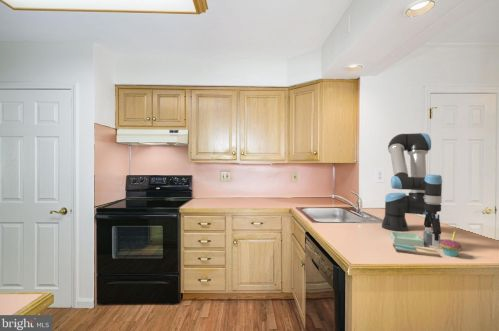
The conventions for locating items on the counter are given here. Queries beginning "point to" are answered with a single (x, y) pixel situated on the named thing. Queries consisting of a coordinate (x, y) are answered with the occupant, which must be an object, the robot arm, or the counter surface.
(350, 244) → the counter surface
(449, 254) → the cupcake
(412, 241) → the tray
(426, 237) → the die
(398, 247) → the board
